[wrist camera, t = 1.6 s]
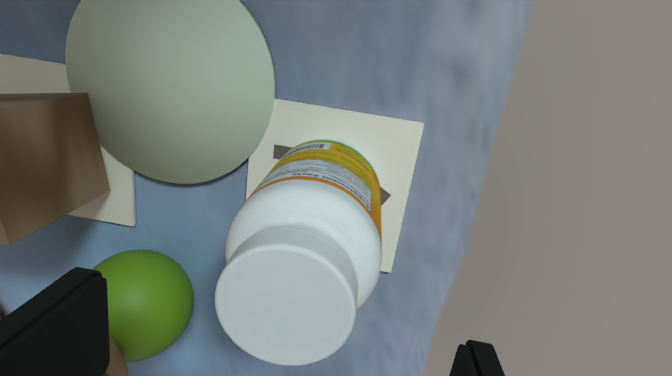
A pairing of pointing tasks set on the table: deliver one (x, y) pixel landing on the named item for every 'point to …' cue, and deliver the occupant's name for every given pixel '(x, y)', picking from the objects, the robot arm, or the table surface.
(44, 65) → the code tile
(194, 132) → the felt coaster
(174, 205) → the table surface
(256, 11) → the table surface
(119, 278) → the snail figurine
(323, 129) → the code tile
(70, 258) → the table surface
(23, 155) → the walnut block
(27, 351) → the robot arm
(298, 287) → the supplement bottle
